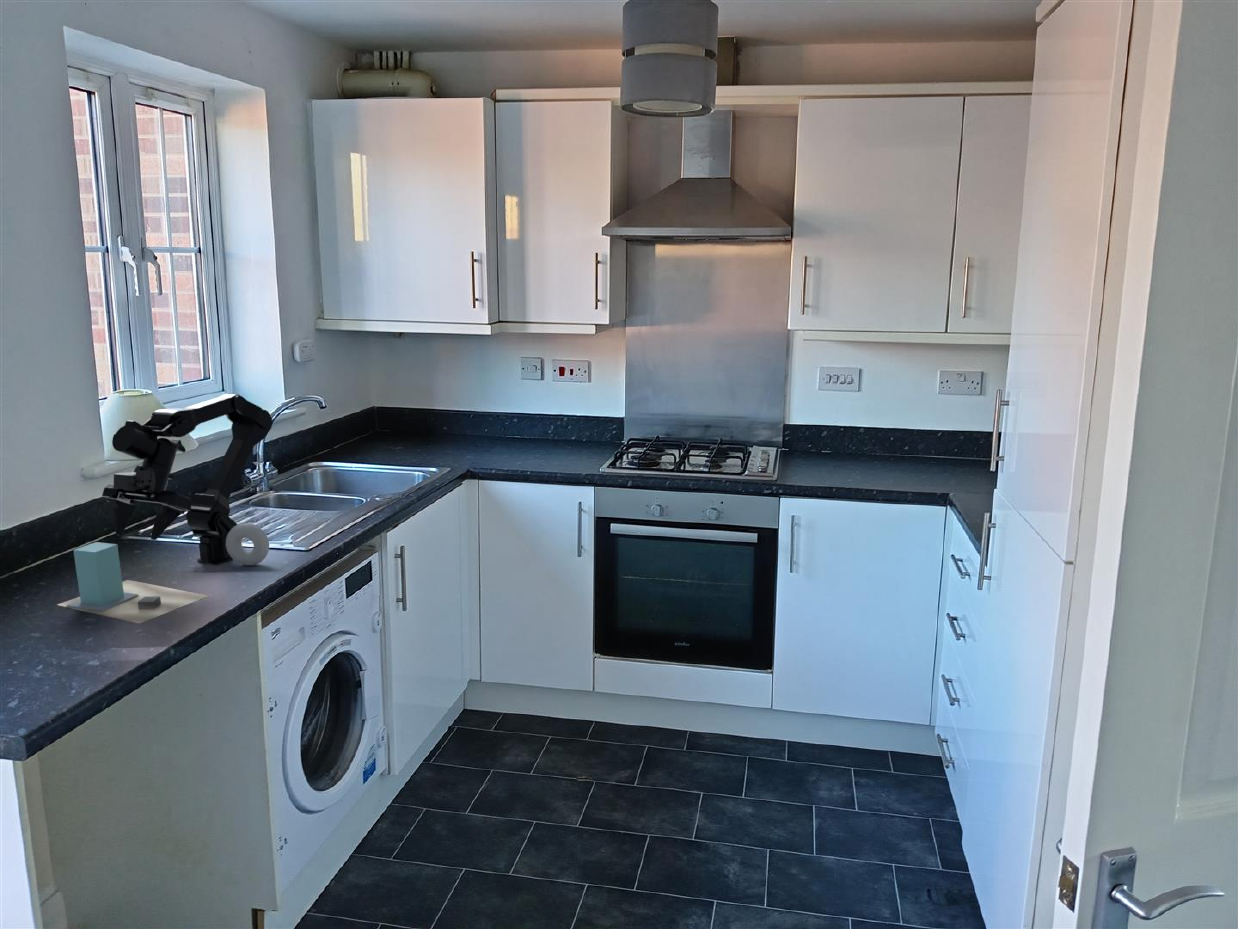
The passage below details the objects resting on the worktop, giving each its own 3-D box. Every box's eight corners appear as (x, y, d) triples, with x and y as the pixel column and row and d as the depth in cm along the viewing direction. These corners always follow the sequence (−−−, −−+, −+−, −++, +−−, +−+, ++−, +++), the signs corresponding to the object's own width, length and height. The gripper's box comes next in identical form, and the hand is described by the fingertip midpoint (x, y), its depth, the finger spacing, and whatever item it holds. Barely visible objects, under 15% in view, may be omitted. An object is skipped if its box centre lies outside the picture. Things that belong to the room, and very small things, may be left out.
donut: (225, 567, 213) (220, 524, 211) (232, 562, 217) (228, 520, 214) (267, 568, 212) (263, 525, 210) (274, 563, 216) (270, 521, 213)
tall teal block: (103, 593, 192) (96, 542, 189) (124, 596, 190) (117, 544, 188) (80, 603, 187) (73, 550, 184) (102, 605, 185) (94, 552, 182)
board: (128, 586, 201) (127, 573, 201) (209, 602, 191) (208, 588, 191) (57, 611, 187) (55, 597, 187) (140, 631, 177) (138, 616, 176)
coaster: (104, 591, 194) (103, 590, 194) (138, 596, 191) (138, 594, 191) (66, 607, 186) (66, 605, 185) (102, 612, 183) (101, 610, 183)
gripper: (93, 451, 196) (70, 523, 192) (165, 458, 190) (142, 533, 186) (133, 466, 206) (111, 535, 202) (202, 473, 200) (181, 545, 196)
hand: (135, 537), depth 196 cm, fingers open, 9 cm apart
